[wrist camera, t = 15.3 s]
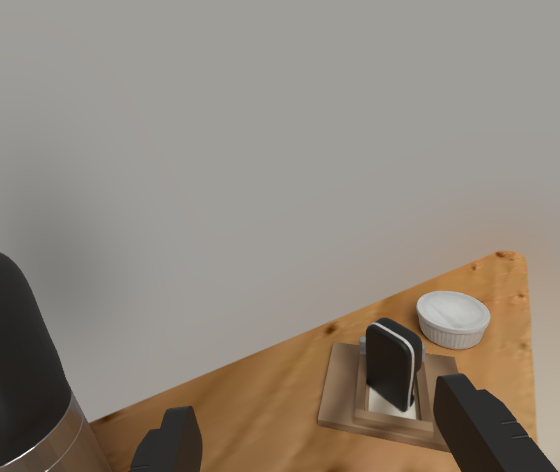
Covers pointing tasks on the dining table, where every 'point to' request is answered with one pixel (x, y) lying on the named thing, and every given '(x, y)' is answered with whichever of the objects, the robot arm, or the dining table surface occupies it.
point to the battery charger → (393, 361)
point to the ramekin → (452, 319)
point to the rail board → (381, 399)
